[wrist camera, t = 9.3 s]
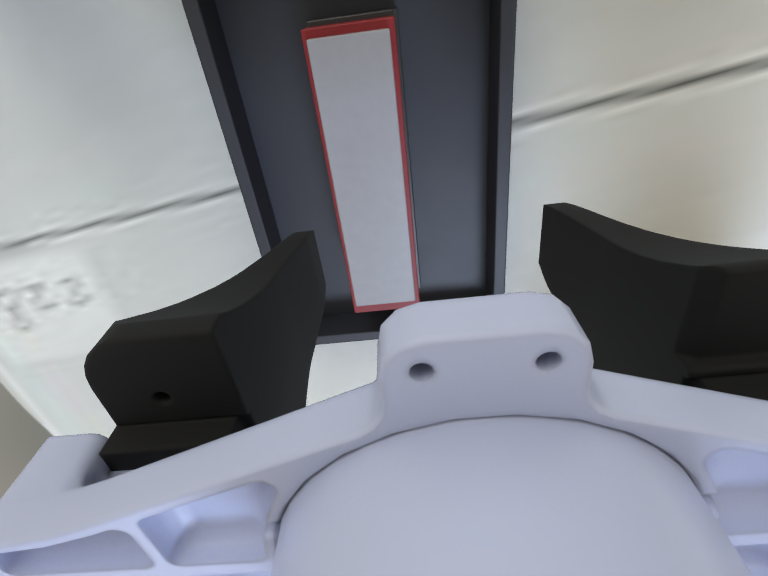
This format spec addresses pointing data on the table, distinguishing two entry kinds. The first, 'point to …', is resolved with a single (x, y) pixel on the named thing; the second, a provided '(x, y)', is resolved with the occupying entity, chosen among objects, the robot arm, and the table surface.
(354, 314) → the tray
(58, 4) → the table surface
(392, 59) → the red and grey slab
